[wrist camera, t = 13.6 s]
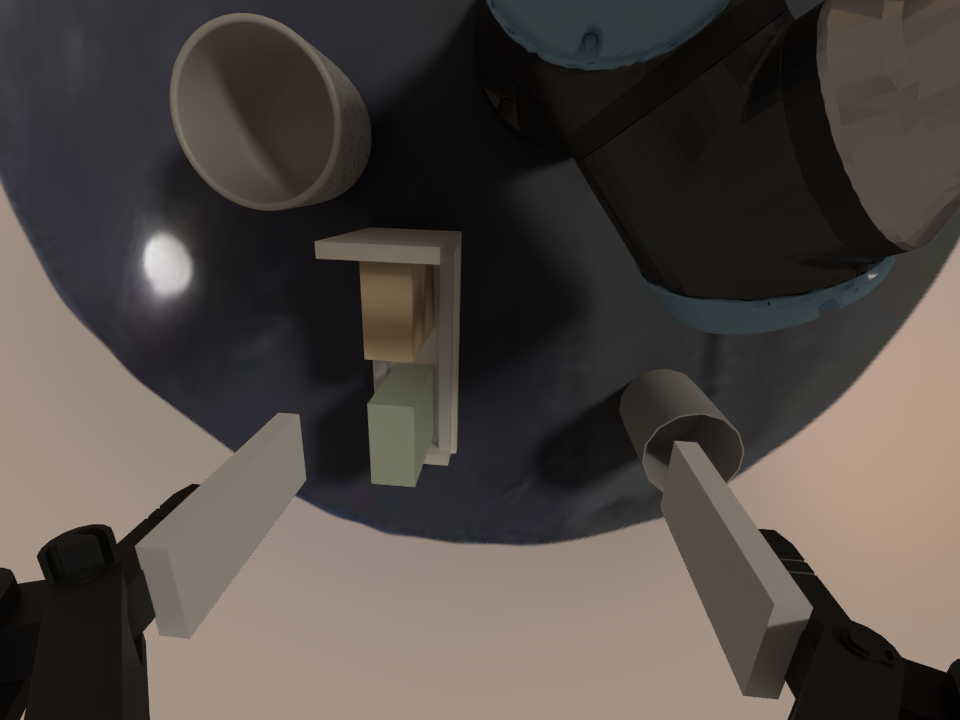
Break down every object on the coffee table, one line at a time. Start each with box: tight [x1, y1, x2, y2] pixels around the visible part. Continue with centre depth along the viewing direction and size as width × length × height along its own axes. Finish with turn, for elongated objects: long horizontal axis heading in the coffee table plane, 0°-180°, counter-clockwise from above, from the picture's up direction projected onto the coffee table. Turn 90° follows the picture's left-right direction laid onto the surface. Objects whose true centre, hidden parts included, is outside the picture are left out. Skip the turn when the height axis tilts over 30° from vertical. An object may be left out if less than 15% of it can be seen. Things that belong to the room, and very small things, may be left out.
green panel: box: [367, 363, 434, 487], centre depth 45 cm, size 8×4×10 cm, turn 178°
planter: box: [170, 13, 372, 211], centre depth 38 cm, size 12×12×11 cm
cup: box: [619, 369, 744, 492], centre depth 45 cm, size 8×8×10 cm
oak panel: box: [359, 261, 434, 362], centre depth 41 cm, size 8×4×10 cm, turn 178°
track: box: [315, 227, 462, 466], centre depth 43 cm, size 24×9×13 cm, turn 178°
